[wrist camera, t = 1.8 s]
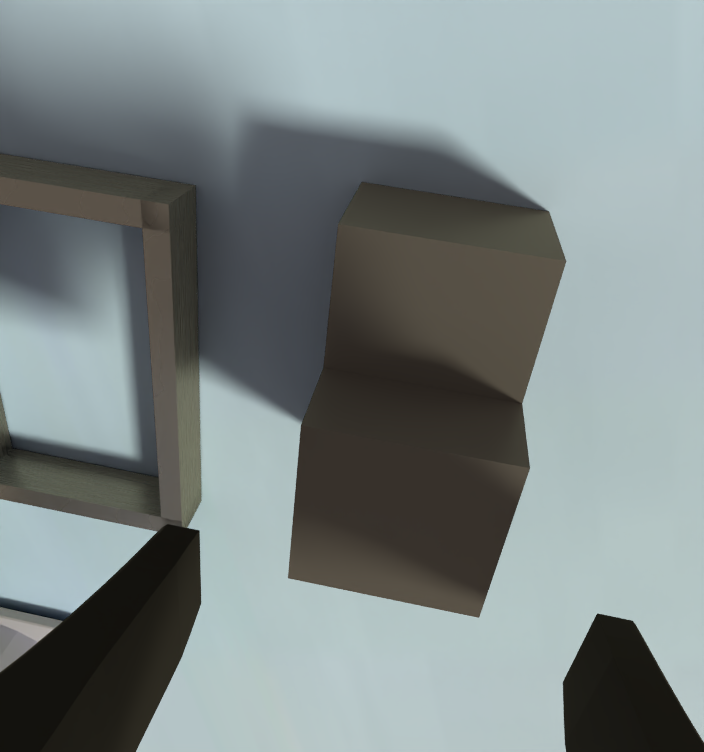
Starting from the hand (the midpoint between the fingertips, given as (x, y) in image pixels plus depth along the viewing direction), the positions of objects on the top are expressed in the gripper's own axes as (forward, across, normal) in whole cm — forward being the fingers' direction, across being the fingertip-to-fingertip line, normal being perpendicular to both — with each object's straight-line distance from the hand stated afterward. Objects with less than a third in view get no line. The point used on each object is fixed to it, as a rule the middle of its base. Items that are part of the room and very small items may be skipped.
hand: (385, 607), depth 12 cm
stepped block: (+6, 0, -2) cm, 7 cm away
